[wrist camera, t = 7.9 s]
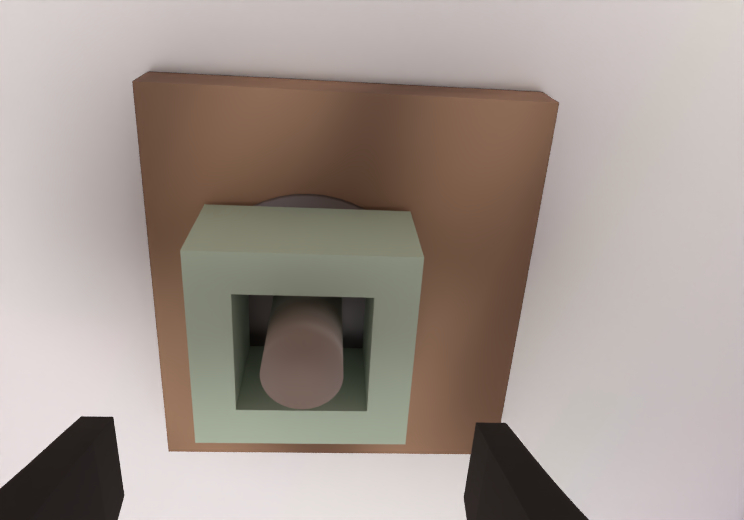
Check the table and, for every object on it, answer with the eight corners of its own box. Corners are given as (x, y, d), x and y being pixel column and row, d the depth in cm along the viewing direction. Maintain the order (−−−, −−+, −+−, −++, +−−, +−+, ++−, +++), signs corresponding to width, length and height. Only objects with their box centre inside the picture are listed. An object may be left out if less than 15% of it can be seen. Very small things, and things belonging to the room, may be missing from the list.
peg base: (542, 92, 18) (620, 142, 13) (485, 425, 23) (526, 552, 18) (147, 71, 17) (73, 117, 12) (178, 421, 22) (134, 552, 18)
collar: (410, 211, 18) (424, 257, 15) (395, 378, 20) (405, 444, 17) (204, 204, 17) (180, 250, 15) (214, 375, 20) (195, 442, 17)
